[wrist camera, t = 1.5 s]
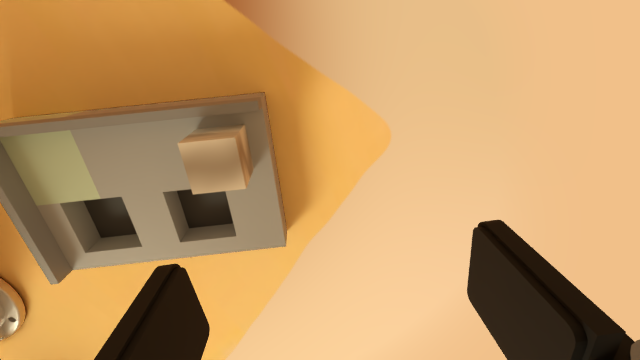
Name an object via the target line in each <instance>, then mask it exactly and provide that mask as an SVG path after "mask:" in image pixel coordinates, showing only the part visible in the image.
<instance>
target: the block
mask: <svg viewBox="0 0 640 360" xmlns="http://www.w3.org/2000/svg"><path fill="white" fill-rule="evenodd" d="M177 144H178V147H179V150H180V154H181V157H182V160H183V164H184V167H185V170H186V173H187V177H188V180H189V183H190V187H191V190H192V193H193V195H194V194H203V193H212V192H221V191H231V190H240V189H246V188H247V185H248V183H249V180H250V178H251V175H252V173H253V170H254V167H253V162H252V157H251V152H250V147H249V142H248V137H247V132H246V127H245V124H240V125H230V126H221V127H211V128H202V129H196V130H194V131H193V132H192V133H190V134H189V135H188V136H186V137H185V138H184V139H183V140H181V141H180V142H179V143H177Z"/></svg>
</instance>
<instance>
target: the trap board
mask: <svg viewBox="0 0 640 360" xmlns="http://www.w3.org/2000/svg"><path fill="white" fill-rule="evenodd" d="M240 124H245V127H246V132H247V137H248V142H249V147H250V152H251V157H252V162H253V167H254V170H253V173H252V175H251V178H250V180H249V183H248V185H247V188H246V189H240V190H231V191H221V192H212V193H203V194H194V195H193V193H192V190H191V187H190V183H189V180H188V177H187V173H186V170H185V167H184V164H183V160H182V157H181V154H180V150H179V147H178V144H177V143H179V142H180V141H181V140H183V139H184V138H185V137H186V136H188V135H189V134H190V133H192V132H193V131H194V130H196V129H202V128H211V127H221V126H230V125H240ZM0 202H1V204H2V206H3V207H4V209H5V211H6V212H7V214H8V215H9V217H10V219H11V220H12V222H13V224H14V225H15V227H16V229H17V230H18V232H19V233H20V235H21V237H22V238H23V240H24V242H25V243H26V245H27V246H28V248H29V250H30V251H31V253H32V255H33V256H34V258H35V260H36V261H37V263H38V264H39V266H40V268H41V269H42V271H43V273H44V274H45V276H46V277H47V279H48V281H49V282H50V284H59V283H60V282H61V281H62V280H63V279H64V278H65V277H66V276H67V275H68V274H69V273H70V272H71V271H72V270H78V269H87V268H96V267H105V266H114V265H123V264H132V263H141V262H150V261H159V260H168V259H177V258H186V257H195V256H204V255H213V254H222V253H231V252H240V251H249V250H258V249H267V248H276V247H285V246H286V239H287V227H286V221H285V215H284V209H283V202H282V196H281V190H280V184H279V178H278V172H277V166H276V160H275V153H274V147H273V141H272V135H271V129H270V123H269V117H268V111H267V104H266V98H265V92H263V93H253V94H243V95H234V96H224V97H214V98H204V99H194V100H185V101H175V102H165V103H155V104H145V105H136V106H126V107H116V108H106V109H96V110H87V111H77V112H67V113H57V114H47V115H38V116H28V117H18V118H11V119H7V120H3V121H0Z"/></svg>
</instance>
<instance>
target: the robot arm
mask: <svg viewBox="0 0 640 360" xmlns="http://www.w3.org/2000/svg"><path fill="white" fill-rule="evenodd" d="M467 293H468V297H469V300H470V302H471V303H472V305H473V307H474V308H475V310H476V311H477V313H478V314H479V316H480V317H481V319H482V321H483V322H484V324H485V325H486V327H487V328H488V330H489V332H490V333H491V335H492V336H493V338H494V339H495V341H496V343H497V344H498V346H499V347H500V349H501V350H502V352H503V354H504V355H505V357H506V358H507V360H640V340H637V341H636V342H634V341H633V340H632V339H631V338H630V337H629V336H627V334H626V332H625V331H624V330H623V329H622V328H621V327H620V326H619V325H617V324H616V323H615V322H614V321H613V320H612V319H611V318H610V317H609V316H607V315H606V314H605V313H604V312H603V311H602V310H601V309H600V308H599V307H597V306H596V305H595V304H594V303H593V302H592V301H591V300H590V299H588V298H587V297H586V296H585V295H584V294H583V293H582V292H581V291H580V290H578V289H577V288H576V287H575V286H574V285H573V284H572V283H571V282H570V281H568V280H567V279H566V278H565V277H564V276H563V275H562V274H561V273H560V272H558V271H557V270H556V269H555V268H554V267H553V266H552V265H551V264H550V263H548V262H547V261H546V260H545V259H544V258H543V257H542V256H541V255H539V254H538V253H537V252H536V251H535V250H534V249H533V248H532V247H530V245H528V244H527V243H526V242H525V241H524V240H523V239H522V238H521V237H519V236H518V235H517V234H516V233H515V232H514V231H513V230H511V228H509V227H508V226H507V225H506V224H505V223H504V222H503V221H501V220H493V221H485V222H480V223H479V224H478V227H477V228H474V230H473V237H472V247H471V257H470V267H469V277H468V287H467ZM25 315H26V312H25V306H24V303H23V301H22V299H21V297H20V296H19V294H18V293H17V292H16V291H15V290H14V289H13V288H12V287H11V286H10V285H9V284H8V283H7V282H5V281H4V280H3V279H1V278H0V341H1V340H4V339H6V338H8V337H10V336H11V335H12V334H14V333H15V332H16V331H17V330H18V329H19V328H20V327H21V326H22V324H23V322H24V320H25ZM208 337H209V324H208V321H207V319H206V316H205V314H204V312H203V309H202V307H201V305H200V302H199V300H198V297H197V295H196V293H195V290H194V288H193V286H192V283H191V281H190V278H189V276H188V274H187V271H186V269H185V268H181V267H180V265H178V264H170V265H163V266H158V267H157V268H156V269H155V270H154V272H153V273H152V275H151V276H150V278H149V279H148V280H147V282H146V283H145V285H144V286H143V288H142V289H141V291H140V292H139V294H138V295H137V297H136V298H135V300H134V301H133V303H132V304H131V306H130V307H129V309H128V310H127V312H126V313H125V314H124V316H123V317H122V319H121V320H120V322H119V323H118V325H117V326H116V328H115V329H114V331H113V332H112V334H111V335H110V337H109V338H108V340H107V341H106V343H105V344H104V346H103V347H102V348H101V350H100V351H99V353H98V354H97V356H96V357H95V359H94V360H201V358H202V355H203V352H204V349H205V346H206V343H207V340H208ZM0 360H1V359H0Z"/></svg>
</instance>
